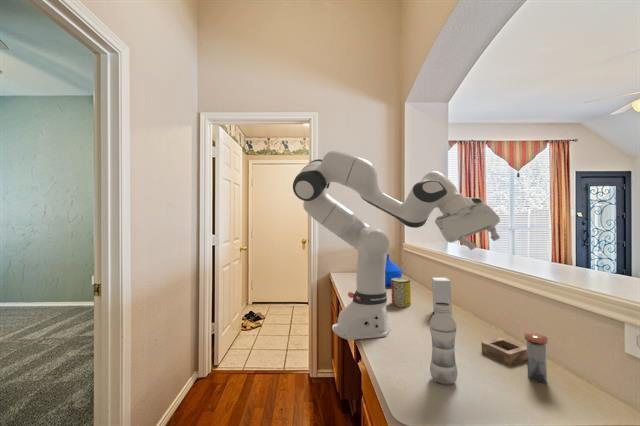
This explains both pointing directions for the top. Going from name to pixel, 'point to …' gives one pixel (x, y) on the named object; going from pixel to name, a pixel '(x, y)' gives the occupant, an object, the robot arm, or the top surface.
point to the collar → (505, 350)
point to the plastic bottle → (443, 345)
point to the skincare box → (441, 291)
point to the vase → (391, 271)
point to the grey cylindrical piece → (536, 357)
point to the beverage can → (401, 292)
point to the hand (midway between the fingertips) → (485, 243)
